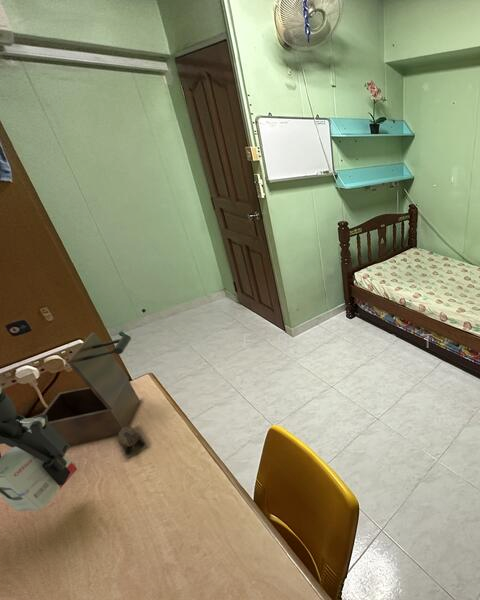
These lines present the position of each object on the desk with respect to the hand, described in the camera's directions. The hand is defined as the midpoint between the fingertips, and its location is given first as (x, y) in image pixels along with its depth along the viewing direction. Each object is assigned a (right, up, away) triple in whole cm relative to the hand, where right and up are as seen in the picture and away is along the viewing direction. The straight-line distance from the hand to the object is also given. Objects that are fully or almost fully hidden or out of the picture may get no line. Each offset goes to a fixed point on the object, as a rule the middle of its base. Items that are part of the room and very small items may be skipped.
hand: (43, 484), depth 64 cm
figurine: (+1, -3, +21) cm, 22 cm away
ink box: (0, -2, +1) cm, 2 cm away
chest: (-15, +1, +28) cm, 32 cm away
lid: (-9, +18, +21) cm, 29 cm away
